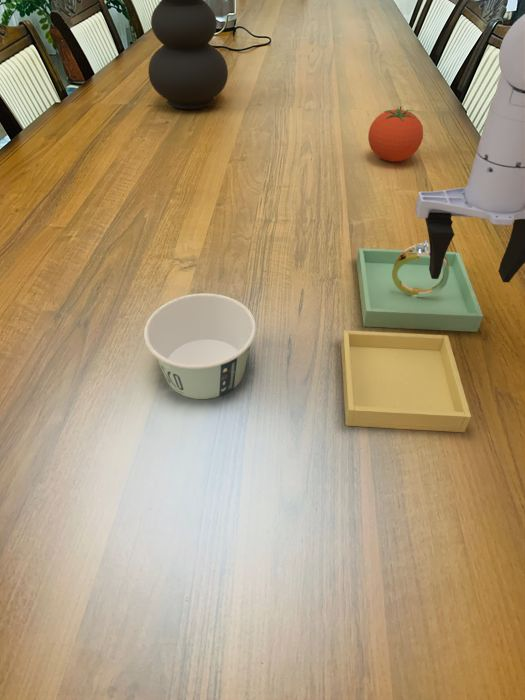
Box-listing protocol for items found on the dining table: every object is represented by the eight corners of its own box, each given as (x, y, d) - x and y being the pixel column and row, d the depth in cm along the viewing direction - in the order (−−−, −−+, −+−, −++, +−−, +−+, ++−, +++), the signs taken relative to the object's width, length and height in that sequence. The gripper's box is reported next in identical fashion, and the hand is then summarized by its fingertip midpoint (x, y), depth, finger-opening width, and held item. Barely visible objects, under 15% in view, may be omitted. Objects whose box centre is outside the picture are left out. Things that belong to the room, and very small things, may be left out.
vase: (220, 119, 117) (209, -81, 92) (142, 114, 119) (112, -83, 94) (235, 93, 130) (229, -88, 105) (165, 89, 132) (144, -89, 107)
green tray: (454, 267, 74) (459, 252, 72) (477, 332, 64) (483, 316, 62) (356, 263, 75) (358, 248, 73) (363, 326, 65) (366, 310, 63)
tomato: (354, 154, 103) (361, 102, 96) (395, 145, 106) (404, 94, 99) (386, 174, 96) (395, 120, 89) (428, 164, 99) (440, 110, 93)
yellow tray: (442, 351, 61) (448, 335, 60) (464, 432, 53) (471, 416, 51) (340, 346, 62) (343, 330, 60) (345, 425, 53) (348, 409, 51)
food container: (277, 366, 59) (279, 323, 55) (203, 427, 53) (197, 385, 48) (206, 321, 65) (202, 279, 61) (131, 372, 59) (120, 329, 54)
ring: (442, 294, 68) (458, 243, 63) (439, 308, 66) (456, 256, 61) (390, 284, 70) (401, 232, 65) (386, 297, 68) (397, 245, 62)
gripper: (436, 170, 45) (406, 293, 54) (607, 176, 44) (547, 300, 53) (425, 139, 50) (399, 257, 59) (577, 144, 49) (527, 263, 59)
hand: (468, 275), depth 57 cm, fingers open, 7 cm apart
